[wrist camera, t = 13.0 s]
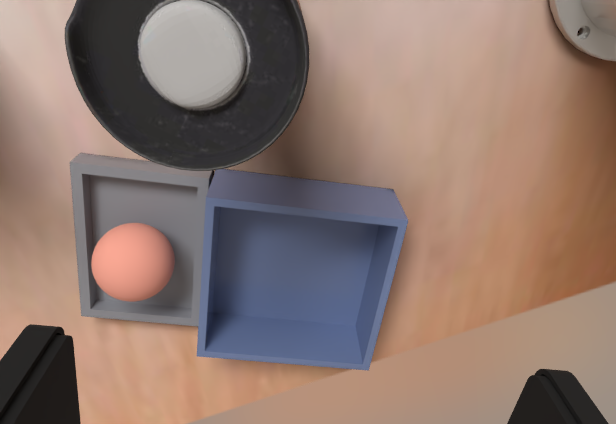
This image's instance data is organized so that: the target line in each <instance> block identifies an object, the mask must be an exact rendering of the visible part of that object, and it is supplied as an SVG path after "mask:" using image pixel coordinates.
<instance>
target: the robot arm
mask: <svg viewBox="0 0 616 424" xmlns="http://www.w3.org/2000/svg"><path fill="white" fill-rule="evenodd" d="M549 2H550V8H551V11H552V14H553V17H554V19H555V22H556V25H557V26H558V28H559V29H560V31H561V32H562V34H563V35H564V37H565V38H566V39H567V40H568V41H569V42H570V43H571V44H572V45H573V46H574V47H576V48H577V49H579V50H581V51H582V52H584V53H586V54H588V55H590V56H594V57H597V58H600V59H603V60H610V61H616V0H549ZM579 29H580V32H579V34H578V30H579ZM0 424H80V413H79V401H78V390H77V379H76V368H75V357H74V346H73V338H72V337H71V336H68V335H65V334H64V330H63V329H62V328H61V327H54V326H42V325H28V326H27V327H26V328H25V329H24V330H23V331H22V333H21V334H20V335H19V337H18V338H17V339H16V341H15V342H14V343H13V345H12V346H11V347H10V349H9V350H8V351H7V353H6V354H5V355H4V356H3V358H2V359H1V360H0ZM507 424H608V422H607V421H606V419H605V418H604V417H603V415H602V414H601V413H600V411H599V410H598V408H597V407H596V406H595V404H594V403H593V401H592V400H591V399H590V397H589V396H588V394H587V393H586V392H585V390H584V389H583V387H582V386H581V385H580V383H579V382H578V380H577V379H576V377H575V376H574V375H573V374H572V373H570V372H568V371H560V370H549V369H540V370H538V371H537V372H536V373H535V375H532V376H530V377H529V378H528V380H527V382H526V384H525V387H524V388H523V391H522V393H521V395H520V397H519V399H518V401H517V404H516V406H515V408H514V411H513V412H512V415H511V417H510V419H509V421H508V423H507Z"/></svg>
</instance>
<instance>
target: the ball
mask: <svg viewBox="0 0 616 424" xmlns="http://www.w3.org/2000/svg"><path fill="white" fill-rule="evenodd" d="M174 264H175V256H174V251H173V248H172V246H171V244H170V242H169V240H168V239H167V237H166V236H165V235H164V234H163V233H162V232H160V231H159V230H157V229H156V228H154V227H152V226H149V225H146V224H142V223H127V224H122V225H119V226H117V227H115V228H113V229H111V230H110V231H108V232H107V233H106V234H105V235H103V236H102V238H101V239H100V240H99V241H98V243H97V245H96V246H95V249H94V251H93V254H92V261H91V266H92V273H93V276H94V278H95V280H96V282H97V284H98V285H99V287H100V288H101V289H102V290H103V291H104V292H105V293H107V294H108V295H110V296H111V297H113V298H116V299H118V300H122V301H129V302H134V301H141V300H145V299H148V298H150V297H152V296H154V295H156V294H157V293H158V292H160V291H161V290H162V289H163V288H164V287H165V286H166V285H167V283H168V282H169V280H170V278H171V276H172V274H173V270H174Z"/></svg>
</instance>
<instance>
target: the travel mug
mask: <svg viewBox="0 0 616 424" xmlns="http://www.w3.org/2000/svg"><path fill="white" fill-rule="evenodd" d="M65 44H66V50H67V56H68V60H69V64H70V68H71V71H72V74H73V77H74V79H75V82H76V85H77V87H78V89H79V91H80V93H81V95H82V97H83V99H84V101H85V103H86V104H87V106H88V107H89V109H90V111H91V112H92V114H93V115H94V116H95V117H96V119H97V120H98V121H99V122H100V124H101V125H102V126H103V127H104V128H105V129H106V130H107V131H108V132H109V133H110V134H111V135H112V136H113V137H114V138H115V139H116V140H118V141H119V142H120V143H122V144H123V145H124V146H125V147H127V148H128V149H130V150H132V151H133V152H135V153H136V154H138V155H140V156H142V157H144V158H146V159H148V160H150V161H152V162H155V163H158V164H161V165H164V166H167V167H171V168H176V169H180V170H190V171H211V170H218V169H224V168H228V167H231V166H235V165H238V164H240V163H243V162H245V161H247V160H249V159H251V158H253V157H255V156H256V155H258V154H260V153H261V152H263V151H264V150H265V149H266V148H268V147H269V146H270V145H272V144H273V143H274V142H275V141H276V140H277V139H278V138H279V137H280V135H281V134H282V133H283V132H284V131H285V129H286V128H287V127H288V125H289V124H290V123H291V121H292V119H293V117H294V116H295V114H296V112H297V110H298V108H299V105H300V103H301V100H302V98H303V95H304V91H305V87H306V83H307V78H308V70H309V45H308V37H307V31H306V27H305V23H304V19H303V15H302V11H301V7H300V3H299V0H77V1H76V4H75V6H74V9H73V11H72V13H71V15H70V17H69V19H68V21H67V23H66V27H65Z"/></svg>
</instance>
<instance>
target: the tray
mask: <svg viewBox="0 0 616 424" xmlns="http://www.w3.org/2000/svg"><path fill="white" fill-rule="evenodd" d="M70 172H71V185H72V198H73V212H74V225H75V238H76V251H77V265H78V278H79V291H80V304H81V316H86V317H97V318H109V319H120V320H131V321H143V322H154V323H165V324H177V325H188V326H199V309H200V291H201V274H202V256H203V239H204V221H205V204H206V195H207V193H208V190H209V187H210V185H211V182H212V172H213V170H211V171H190V170H180V169H176V168H171V167H167V166H164V165H161V164H158V163H155V162H151V161H143V160H135V159H126V158H118V157H110V156H101V155H93V154H85V153H80V154H79V155H78V156H76V157H75V158H74V159H73V160H72V161H70ZM127 223H142V224H146V225H149V226H152V227H154V228H156V229H157V230H159V231H160V232H162V233H163V234H164V235H165V236H166V237H167V239H168V240H169V242H170V244H171V246H172V248H173V251H174V256H175V264H174V270H173V274H172V276H171V278H170V280H169V282H168V283H167V285H166V286H165V287H164V288H163V289H162V290H161V291H160V292H158V293H157V294H156V295H154V296H152V297H150V298H148V299H145V300H141V301H134V302H129V301H122V300H118V299H116V298H113V297H111V296H110V295H108V294H107V293H105V292H104V291H103V290H102V289H101V288H100V287H99V285H98V284H97V282H96V280H95V278H94V276H93V273H92V266H91V261H92V254H93V251H94V249H95V246H96V245H97V243H98V241H99V240H100V239H101V238H102V236H103V235H105V234H106V233H107V232H108V231H110V230H111V229H113V228H115V227H117V226H119V225H122V224H127Z"/></svg>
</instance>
